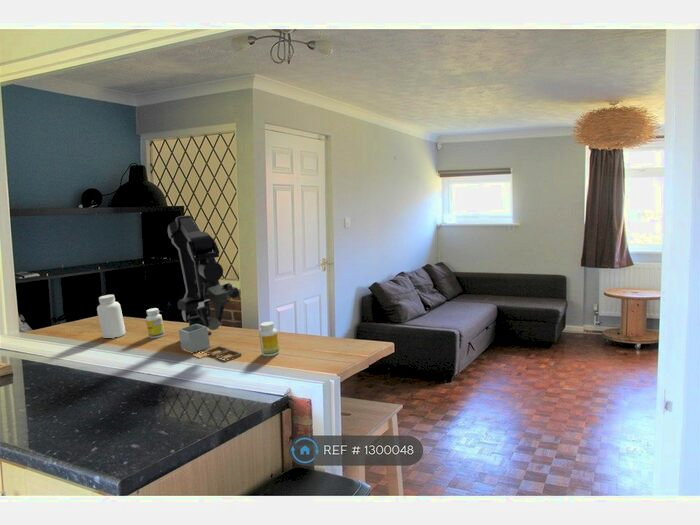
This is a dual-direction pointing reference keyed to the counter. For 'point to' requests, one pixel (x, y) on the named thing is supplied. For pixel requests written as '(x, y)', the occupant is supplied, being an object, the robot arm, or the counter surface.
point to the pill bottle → (110, 317)
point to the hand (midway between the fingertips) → (213, 324)
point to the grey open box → (194, 338)
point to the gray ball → (213, 323)
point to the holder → (223, 352)
